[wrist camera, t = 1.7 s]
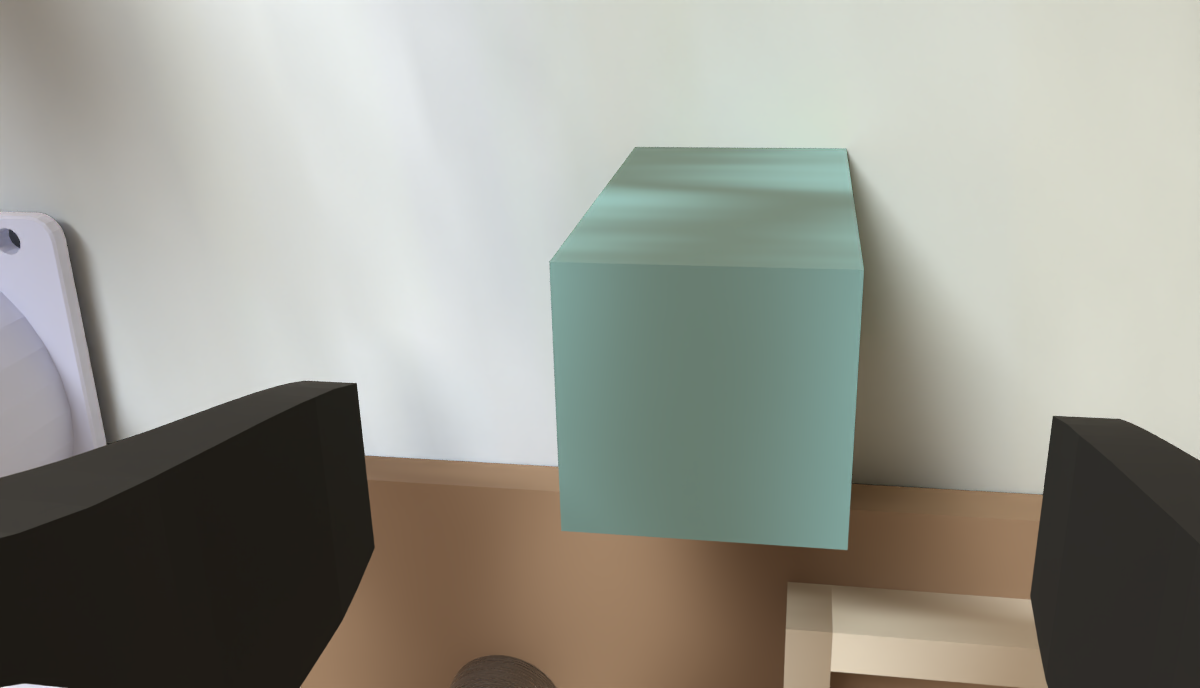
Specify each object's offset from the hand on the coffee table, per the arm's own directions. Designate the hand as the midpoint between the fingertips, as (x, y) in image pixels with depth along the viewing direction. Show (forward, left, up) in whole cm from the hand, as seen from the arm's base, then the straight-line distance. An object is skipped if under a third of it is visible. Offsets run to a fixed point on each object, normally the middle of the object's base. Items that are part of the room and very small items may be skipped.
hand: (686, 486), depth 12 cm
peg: (0, 0, -9) cm, 9 cm away
